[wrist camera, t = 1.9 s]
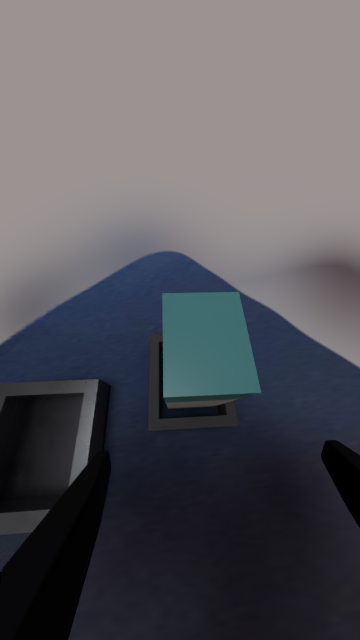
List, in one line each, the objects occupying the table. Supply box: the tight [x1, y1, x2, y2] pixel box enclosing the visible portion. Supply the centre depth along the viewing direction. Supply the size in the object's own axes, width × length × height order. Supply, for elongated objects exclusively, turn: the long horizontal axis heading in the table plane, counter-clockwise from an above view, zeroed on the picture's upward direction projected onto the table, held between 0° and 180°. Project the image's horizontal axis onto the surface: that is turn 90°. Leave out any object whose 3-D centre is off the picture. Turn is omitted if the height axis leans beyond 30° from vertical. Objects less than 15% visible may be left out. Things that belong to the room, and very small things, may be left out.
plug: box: [163, 292, 261, 410], centre depth 14 cm, size 5×4×12 cm
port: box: [0, 379, 111, 535], centre depth 15 cm, size 9×8×4 cm
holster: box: [148, 334, 238, 431], centre depth 18 cm, size 8×7×3 cm
